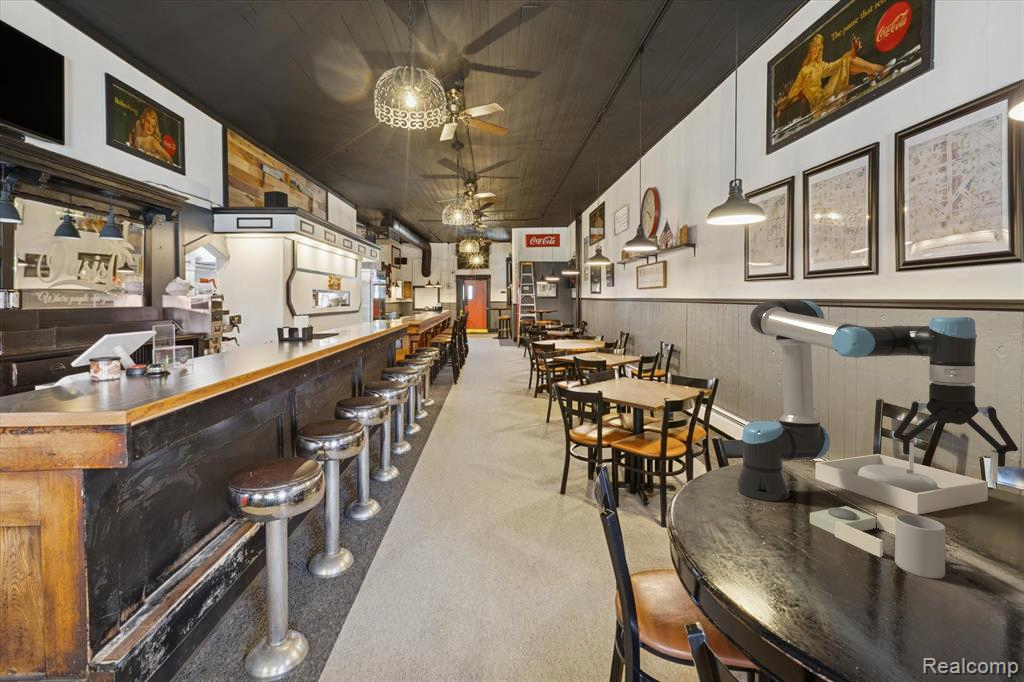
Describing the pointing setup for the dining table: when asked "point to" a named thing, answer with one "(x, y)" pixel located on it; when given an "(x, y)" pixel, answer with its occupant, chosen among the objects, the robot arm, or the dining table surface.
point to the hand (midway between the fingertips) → (950, 474)
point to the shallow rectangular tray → (952, 495)
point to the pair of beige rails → (854, 527)
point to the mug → (920, 546)
